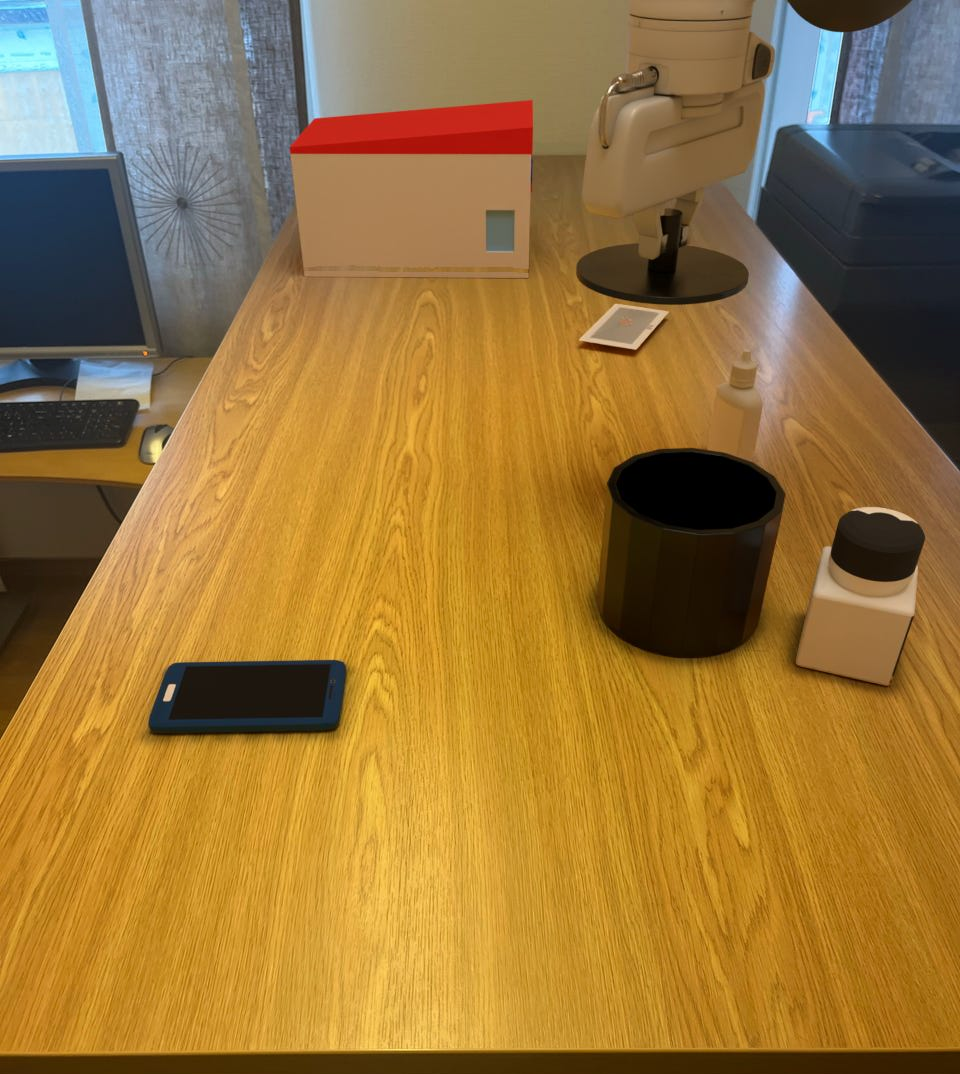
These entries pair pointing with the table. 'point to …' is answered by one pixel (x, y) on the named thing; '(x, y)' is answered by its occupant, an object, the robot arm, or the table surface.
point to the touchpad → (624, 326)
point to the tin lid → (663, 271)
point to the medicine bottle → (863, 596)
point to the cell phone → (249, 696)
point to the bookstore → (416, 190)
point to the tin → (687, 550)
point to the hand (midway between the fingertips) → (664, 251)
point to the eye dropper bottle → (737, 411)
